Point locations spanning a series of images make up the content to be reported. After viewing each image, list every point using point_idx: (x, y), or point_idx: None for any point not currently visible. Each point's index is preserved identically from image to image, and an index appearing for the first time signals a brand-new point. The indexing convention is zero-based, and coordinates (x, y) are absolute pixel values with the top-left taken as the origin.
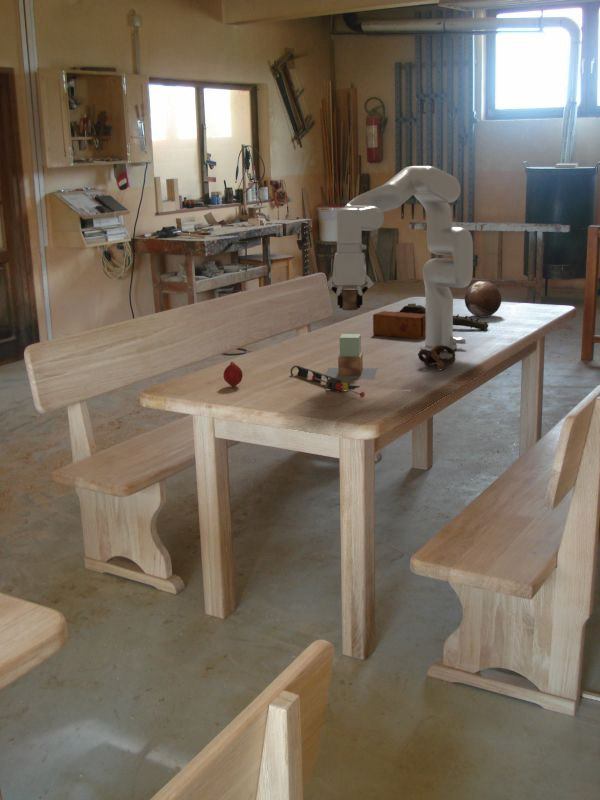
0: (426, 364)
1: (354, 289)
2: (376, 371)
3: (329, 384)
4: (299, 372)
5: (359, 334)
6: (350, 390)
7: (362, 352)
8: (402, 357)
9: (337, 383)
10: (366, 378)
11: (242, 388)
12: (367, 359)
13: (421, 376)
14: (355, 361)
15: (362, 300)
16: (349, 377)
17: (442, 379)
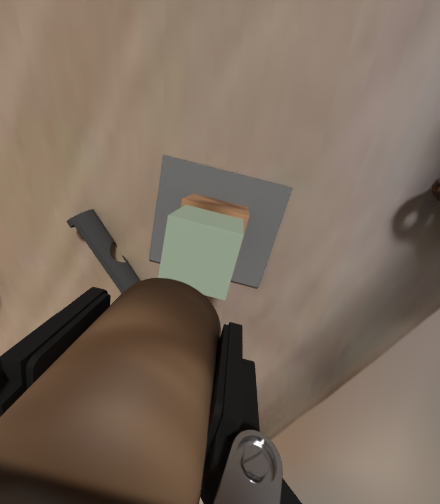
0: (436, 197)
1: (145, 500)
2: (279, 224)
3: None
4: (92, 210)
5: (237, 242)
6: None
7: (248, 218)
8: (429, 13)
9: None
10: (242, 283)
11: (4, 292)
12: (296, 29)
13: (372, 280)
14: None
15: (255, 385)
16: None
17: (405, 314)
